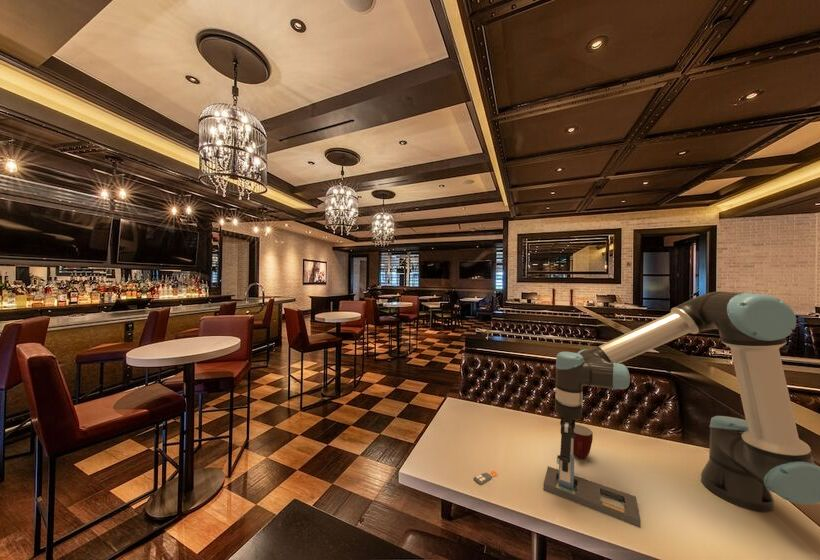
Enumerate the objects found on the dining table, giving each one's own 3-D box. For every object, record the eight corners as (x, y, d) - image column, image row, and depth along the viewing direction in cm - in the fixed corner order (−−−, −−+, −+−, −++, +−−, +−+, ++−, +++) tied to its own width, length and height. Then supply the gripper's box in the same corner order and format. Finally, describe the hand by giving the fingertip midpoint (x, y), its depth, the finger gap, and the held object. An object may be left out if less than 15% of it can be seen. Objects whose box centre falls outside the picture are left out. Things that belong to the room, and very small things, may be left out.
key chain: (481, 488, 91) (481, 483, 91) (472, 480, 94) (472, 476, 94) (507, 473, 98) (508, 469, 98) (499, 467, 101) (499, 463, 101)
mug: (595, 469, 100) (596, 441, 99) (569, 463, 103) (570, 435, 103) (589, 452, 109) (590, 427, 109) (566, 447, 112) (566, 422, 112)
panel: (635, 503, 85) (636, 495, 85) (640, 527, 77) (640, 519, 76) (547, 471, 98) (547, 465, 98) (543, 489, 90) (543, 482, 90)
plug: (573, 486, 91) (574, 456, 91) (573, 494, 88) (573, 462, 88) (557, 480, 94) (557, 450, 94) (555, 488, 90) (556, 457, 90)
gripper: (559, 386, 103) (557, 444, 103) (550, 414, 82) (548, 486, 82) (583, 391, 99) (581, 451, 99) (580, 421, 78) (578, 498, 78)
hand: (566, 467), depth 90 cm, fingers open, 13 cm apart
